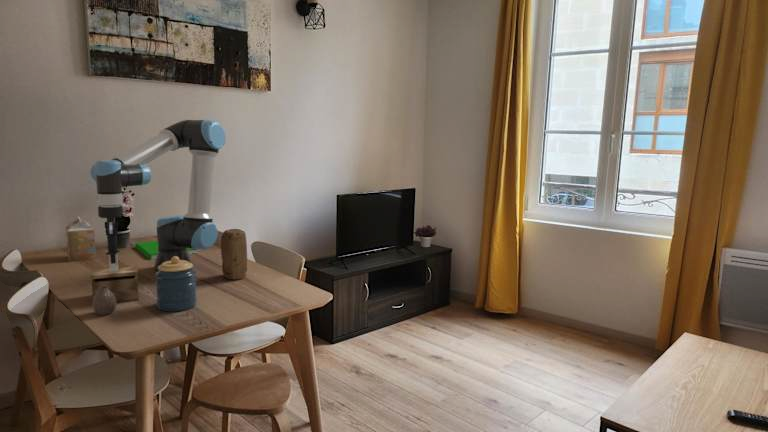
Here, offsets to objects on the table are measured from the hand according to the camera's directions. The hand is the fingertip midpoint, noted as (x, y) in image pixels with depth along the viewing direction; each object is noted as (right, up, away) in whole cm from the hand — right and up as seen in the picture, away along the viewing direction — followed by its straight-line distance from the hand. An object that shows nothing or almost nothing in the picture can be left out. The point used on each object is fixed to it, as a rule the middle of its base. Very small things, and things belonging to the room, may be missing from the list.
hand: (113, 271), depth 177 cm
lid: (-1, -1, +3) cm, 3 cm away
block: (+33, -6, +33) cm, 47 cm away
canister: (+23, -12, -3) cm, 26 cm away
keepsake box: (-1, -10, +4) cm, 11 cm away
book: (-13, +2, +74) cm, 75 cm away
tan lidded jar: (-44, 0, +55) cm, 71 cm away
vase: (+3, -13, -11) cm, 17 cm away
